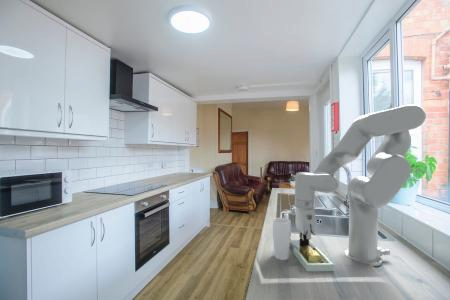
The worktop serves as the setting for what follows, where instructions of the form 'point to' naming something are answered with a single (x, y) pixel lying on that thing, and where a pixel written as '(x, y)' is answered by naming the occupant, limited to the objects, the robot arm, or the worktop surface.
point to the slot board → (297, 243)
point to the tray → (324, 266)
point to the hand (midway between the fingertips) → (304, 249)
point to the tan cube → (312, 256)
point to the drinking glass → (281, 237)
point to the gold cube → (304, 249)
